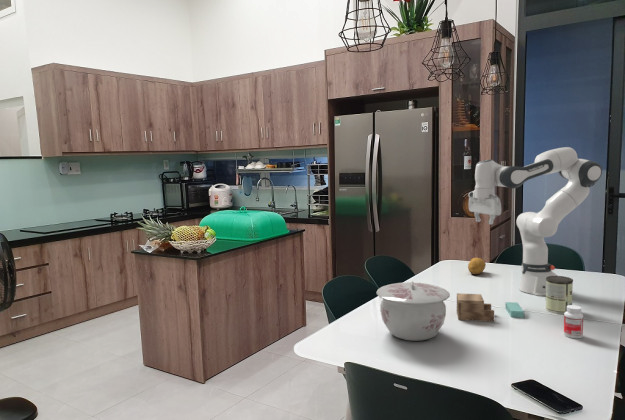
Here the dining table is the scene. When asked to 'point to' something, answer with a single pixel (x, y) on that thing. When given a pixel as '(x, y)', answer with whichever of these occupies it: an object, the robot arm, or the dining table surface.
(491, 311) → the wooden stepped block
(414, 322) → the chamber pot
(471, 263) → the potato
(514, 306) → the teal rectangular block
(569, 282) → the coffee can
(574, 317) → the pill bottle
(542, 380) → the dining table surface
